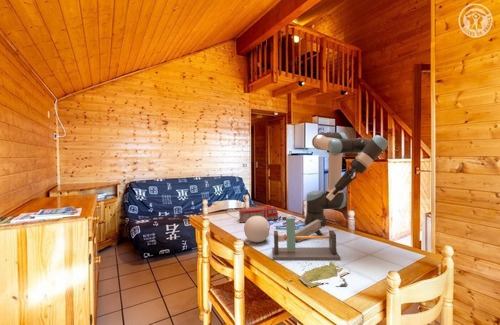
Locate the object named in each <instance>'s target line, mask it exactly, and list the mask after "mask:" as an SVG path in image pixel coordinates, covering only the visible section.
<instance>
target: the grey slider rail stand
mask: <svg viewBox="0 0 500 325" xmlns="http://www.w3.org/2000/svg"><path fill="white" fill-rule="evenodd" d="M295 239H303V240H305V239H306V240H307V239H314V240H315V239H317V240H319V239H321V240H322V239H324V240H325V239H328V244H329V245H328V247H321V246H319V247H307V246H306V247H295V250H287V247H279V242H283V243H284V242H285V241H286V242H287V233H285V234H284V233H279V231H278V230H273V245H274V246H273V247H272V251H271V252H272V261H341V256H340V255H339V253H338V251H337V233H336V232H335V231H334V230H330V229H329V230H328V235H321V236H318V235H310V236H295Z"/></svg>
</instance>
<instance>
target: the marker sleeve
mask: <svg viewBox="0 0 500 325" xmlns="http://www.w3.org/2000/svg"><path fill="white" fill-rule="evenodd" d="M285 219H286V220H285V224H286V226H285V227H286V228H285V229H286V230H285V231H286V236H287V241H286V248H287V250H295V248H296V241H295V232H296V219H295V217H294V216H286V218H285Z"/></svg>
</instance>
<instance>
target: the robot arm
mask: <svg viewBox="0 0 500 325" xmlns="http://www.w3.org/2000/svg"><path fill="white" fill-rule="evenodd" d="M311 142H312V143H311V144H312V147H313V148H314V149H316V150H318V151H319V150H320V151H326V153H327V154H328V177H327V178H328V179H327V181H328V182H327V188H326V189H325V192H324V191H323V190H313V191H309V192H307V193H306V197H305V200H306V215H305V218H304V225H305V226H306V225H308V224H310V223H312V222H313V221H315V220H320V219H323V220H324V226H323V227H326V226H327V225H328V224H327V219H326V216H325V210H339V209H343V208H344V207H345V206H346V202H347V195H346V193H345V192H344V189H346V187H348V186H349V184H350V183H352V182H353V181H354V180H355V179H357V175H358V174H361V175H362V174H363V173H365V172H366V170H367V169H368V168H369V167H370V166H371V165H372V164H373V163H374V161H375V160H377V159H378V157H379V156H380V155H381V154H382V153H383V152H384V151H385V150H386V148H387V147H388V146H389V141H388V140H387V139H386V138H384V137H383V136H382V135H379V134H376V135H374V136H373V137H372V138H366V137H358V138H348V136H347V135H346V133H345V132H321V133H318V134H316V135H315V136H313V138H312V140H311ZM344 154H357V155H356V156H355V158H354V159H353V160H352V161H350V163H349V166H350V167H351V168H349V169H347V171H344V173H343V172H342V170H343V169H342V168H343V166H342V165H343V155H344ZM342 173H343V175H342Z"/></svg>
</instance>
